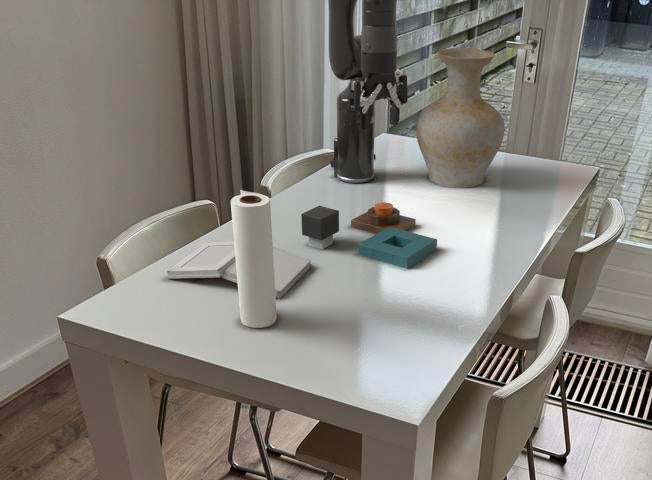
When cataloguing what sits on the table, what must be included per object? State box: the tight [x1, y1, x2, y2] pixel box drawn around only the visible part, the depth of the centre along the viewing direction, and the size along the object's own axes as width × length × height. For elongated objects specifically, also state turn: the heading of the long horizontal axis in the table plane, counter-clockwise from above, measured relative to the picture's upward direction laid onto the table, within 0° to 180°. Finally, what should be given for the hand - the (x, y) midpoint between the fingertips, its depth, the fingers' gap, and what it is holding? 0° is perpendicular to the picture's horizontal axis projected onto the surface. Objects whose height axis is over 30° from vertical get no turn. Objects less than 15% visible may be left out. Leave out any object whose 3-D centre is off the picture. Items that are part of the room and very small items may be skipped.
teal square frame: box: [357, 227, 438, 270], centre depth 156 cm, size 12×12×2 cm
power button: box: [374, 202, 394, 215], centre depth 166 cm, size 4×4×2 cm
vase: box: [415, 47, 506, 189], centre depth 189 cm, size 22×22×30 cm
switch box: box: [350, 206, 417, 235], centre depth 167 cm, size 11×9×4 cm
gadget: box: [166, 241, 312, 300], centre depth 145 cm, size 23×15×4 cm, turn 73°
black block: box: [300, 205, 340, 250], centre depth 157 cm, size 5×6×7 cm
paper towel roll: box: [230, 189, 278, 329], centre depth 125 cm, size 7×6×21 cm
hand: (378, 127), depth 169 cm, fingers open, 8 cm apart
